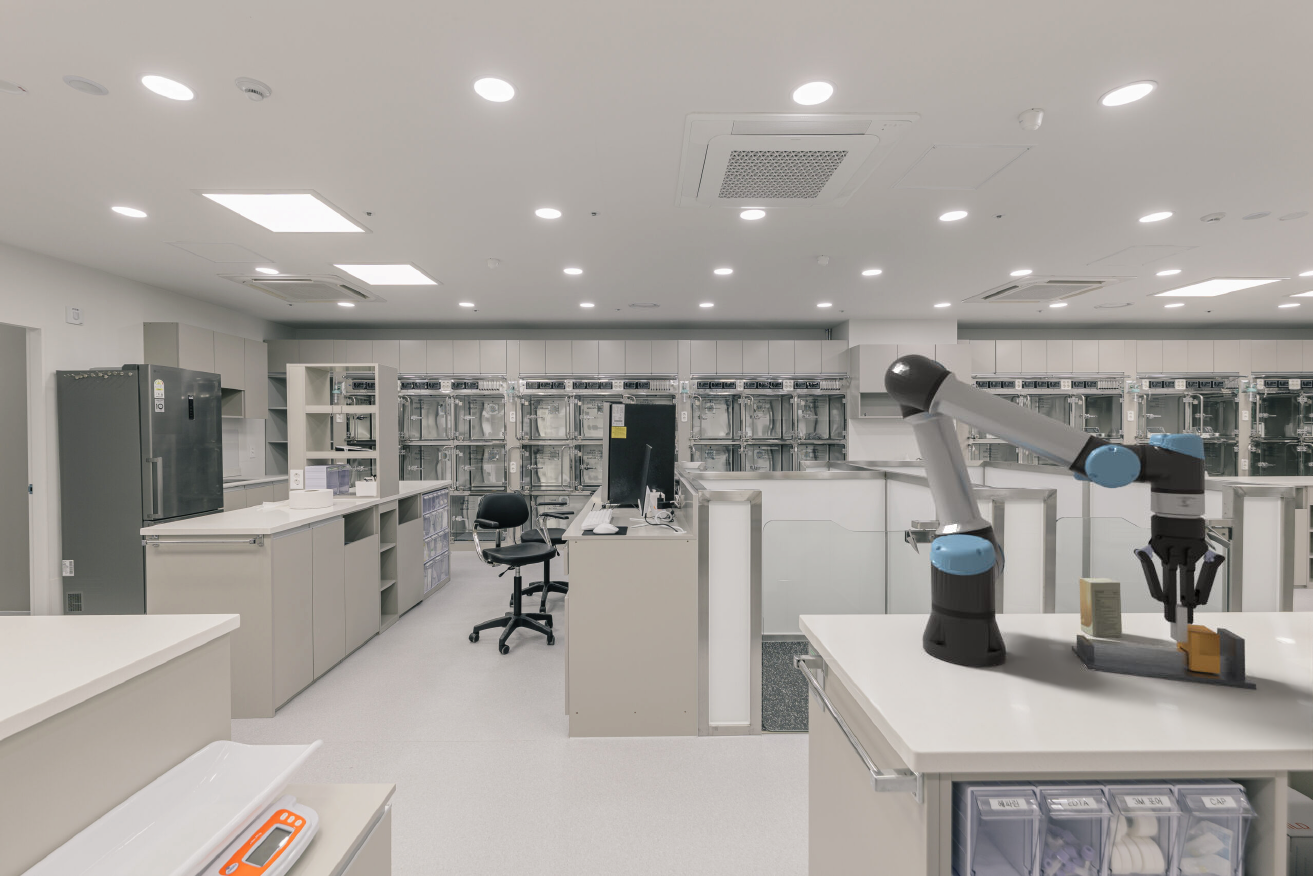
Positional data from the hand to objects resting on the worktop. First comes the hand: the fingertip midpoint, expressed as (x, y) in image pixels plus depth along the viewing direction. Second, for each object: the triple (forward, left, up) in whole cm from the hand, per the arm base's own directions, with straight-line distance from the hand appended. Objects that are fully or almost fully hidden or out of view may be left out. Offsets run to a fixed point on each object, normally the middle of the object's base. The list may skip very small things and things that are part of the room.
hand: (1178, 639), depth 104 cm
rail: (-3, 0, -6) cm, 7 cm away
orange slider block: (+3, 0, -5) cm, 5 cm away
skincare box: (-6, +19, -6) cm, 21 cm away
